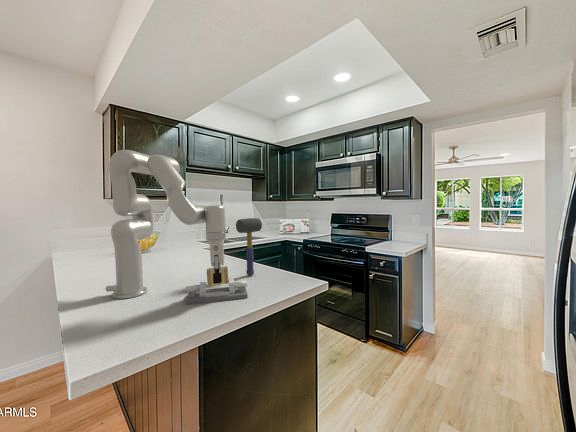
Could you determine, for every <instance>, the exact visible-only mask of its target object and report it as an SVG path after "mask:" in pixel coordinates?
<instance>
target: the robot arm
mask: <svg viewBox="0 0 576 432" xmlns="http://www.w3.org/2000/svg"><path fill="white" fill-rule="evenodd" d="M180 171H181V168H180V163H179V162H178V161H177V160H176V159H175V158H173V157H170V156H167V155H163V154H156V153H155V154H153V155H149V154H145V153H142V152H138V151H135V150H131V149H119V150H118V151H115V152H114V153H113V154H112V155H111V157H110V158H109V162H108V173H109V177H110V180H111V193H112V194H111V195H112V205H113V206H112V208H113V210H114V213H115V214H116V215H118V216H120V217H132V218H129V219H128V218H125V219H120V220H118V221H116V222H114V224H112V226H111V228H110V235H111V236H110V237H111V240H112V242H113V247H114V259H115V260H114V261H115V275H116V276H115V278H116V279H115V280H116V284H114V285H106V286H105V291H106V292H113V293H112V298H113V299H117V300H119V299H121V300H123V299H132V298H135V297H136V298H137V297H139V296H142V295H144V294H146V293H147V292H148V287H147V286H144V278H143V257H142V254H143V253H142V249H141V248H142V247H141V246H140V244H139V242H138V241H140V240H146V239H149V238H150V237H151V236H152V235H153V231H154V217H153V213H154V212H153V205H152V202H151V200H150V199H149V197H147V196H146V195H144V194H139V193H137V185H136V181H135V179H134V176H133V175H132V173H138V174H143V175H148V176H149V175H150V176H153V178H154V179H155V180H156V181H157V183H158V184H159V185H160V186H161V187H162V188H161V189H163V190H164V192H165V193H166V200H167V203H168V206H169V208H170V210H171V211H172V213H173V214H174V215H175V216H176V218H177V219H178V220H179V221H180V222H181V223H182V224H184V225H187V226H193V225H201V224H205V240H206V241H207V242H208V243H209V257H210V264H211V267H212V268H213V284H218V283H222V277H221V267H224V265H225V250H224V249H225V247H224V241H225V240H226V215H225V214H226V212H225V211H226V209H225V207H224V205H220V204H217V205H215V204H213V205H197V204H196V205H194V204H192V203H191V202H190V201H189V199H187V197H186V195H185V194H184V192H183V191H184V190H183V189H184V188H185V186H186V181H185V179H184V178H183V177H182V176H181V174H180ZM221 265H222V266H221ZM218 267H219V268H218Z"/></svg>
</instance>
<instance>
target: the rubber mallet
mask: <svg viewBox="0 0 576 432" xmlns="http://www.w3.org/2000/svg"><path fill="white" fill-rule="evenodd" d="M262 227H263V223H262V219H260V218H258V217H257V218H256V217H255V218H254V217H251V218H250V217H249V218H240V219H239V218H238V219H237V220H236V223H235V228H236V231H237V232H238V233H240V234H246V250H245V252H246V254H245V259H246V271H245V272H246V275H247V277H253V276H254V274H255V269H254V258H255V257H254V249H253V238H252V237H253V236H252V235H253V233H255V232H261V230H262Z"/></svg>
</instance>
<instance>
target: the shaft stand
mask: <svg viewBox="0 0 576 432" xmlns="http://www.w3.org/2000/svg"><path fill="white" fill-rule="evenodd" d="M228 281H229V283H228V286H227V285H226V286H216V287H207V285H206V284H207V282H206V281H201V282H199V284H198V285H195V284H194V285H186V286H185V293H187V296H186V299H185V301H184V302H185V305H196V304H205V303H206V304H207V303H213V302H222V301H223V302H224V301H232V300H240V299H248V298H249V297H248V291H247V287H248V280H241V281H235V279H234V278H232V279H231V278H230V279H229V278H228Z"/></svg>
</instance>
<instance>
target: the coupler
mask: <svg viewBox="0 0 576 432" xmlns="http://www.w3.org/2000/svg"><path fill="white" fill-rule="evenodd" d="M218 268H219V267H218ZM228 269H229V268H228V266H227V265H226V266H221V277H222V283H218V284H213V267H211V268H210V267H209V268H206V279H207V280H206V281H207V282H206V284H207V287H211V286H218V285H227V284H229V272H228V271H229V270H228Z"/></svg>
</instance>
